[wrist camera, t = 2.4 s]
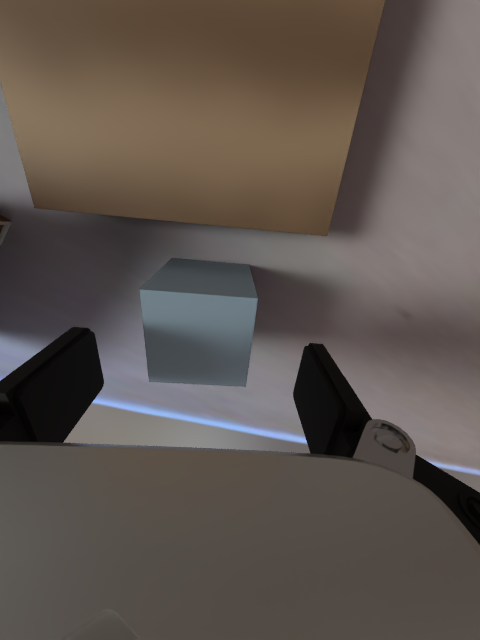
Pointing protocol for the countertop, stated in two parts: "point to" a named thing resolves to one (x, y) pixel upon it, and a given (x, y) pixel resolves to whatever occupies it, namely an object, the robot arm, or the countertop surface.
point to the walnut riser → (187, 106)
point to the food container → (4, 227)
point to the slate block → (199, 322)
